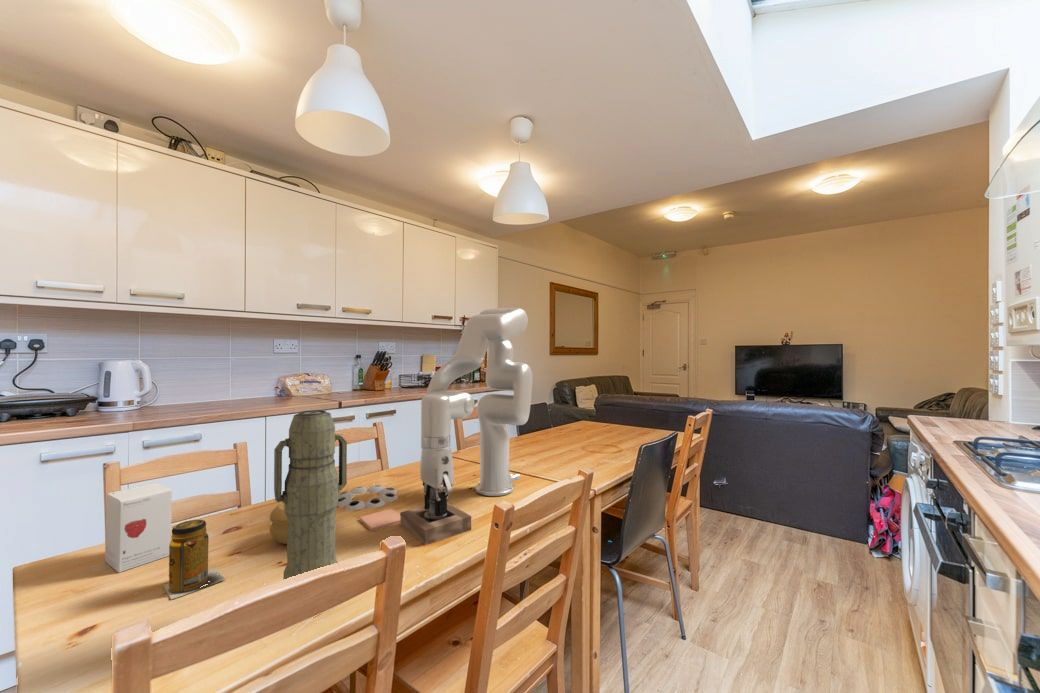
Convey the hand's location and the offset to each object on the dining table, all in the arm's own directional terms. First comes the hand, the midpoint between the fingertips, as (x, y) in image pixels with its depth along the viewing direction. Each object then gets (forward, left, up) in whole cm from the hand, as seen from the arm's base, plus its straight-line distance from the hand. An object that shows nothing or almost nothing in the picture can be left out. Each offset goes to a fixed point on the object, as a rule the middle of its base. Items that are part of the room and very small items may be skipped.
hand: (435, 510), depth 107 cm
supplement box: (+58, -28, -5) cm, 65 cm away
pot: (+29, -16, -5) cm, 33 cm away
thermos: (+33, +14, -5) cm, 36 cm away
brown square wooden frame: (0, 0, -4) cm, 4 cm away
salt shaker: (0, 0, -5) cm, 5 cm away
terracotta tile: (+9, -13, -4) cm, 16 cm away
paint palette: (+6, -33, -5) cm, 34 cm away
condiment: (+49, -8, -5) cm, 50 cm away
